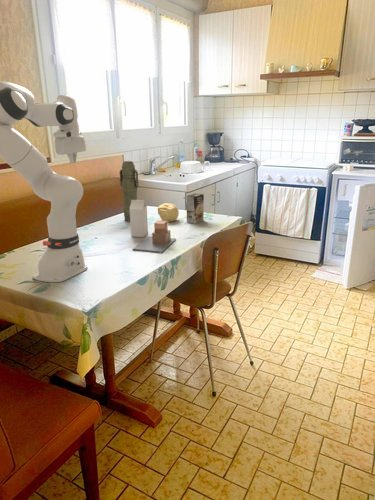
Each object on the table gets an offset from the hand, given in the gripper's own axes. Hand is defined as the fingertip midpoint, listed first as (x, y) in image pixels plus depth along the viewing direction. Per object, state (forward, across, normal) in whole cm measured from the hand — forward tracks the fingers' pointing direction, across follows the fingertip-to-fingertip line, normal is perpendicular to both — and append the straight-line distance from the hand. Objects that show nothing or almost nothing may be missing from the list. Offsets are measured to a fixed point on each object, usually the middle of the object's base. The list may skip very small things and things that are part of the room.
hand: (73, 162), depth 182 cm
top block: (+33, -6, +42) cm, 54 cm away
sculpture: (+40, -47, +31) cm, 69 cm away
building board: (+39, -2, +40) cm, 56 cm away
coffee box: (+39, -49, +47) cm, 78 cm away
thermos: (+39, -43, +8) cm, 59 cm away
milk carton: (+39, -15, +26) cm, 49 cm away
